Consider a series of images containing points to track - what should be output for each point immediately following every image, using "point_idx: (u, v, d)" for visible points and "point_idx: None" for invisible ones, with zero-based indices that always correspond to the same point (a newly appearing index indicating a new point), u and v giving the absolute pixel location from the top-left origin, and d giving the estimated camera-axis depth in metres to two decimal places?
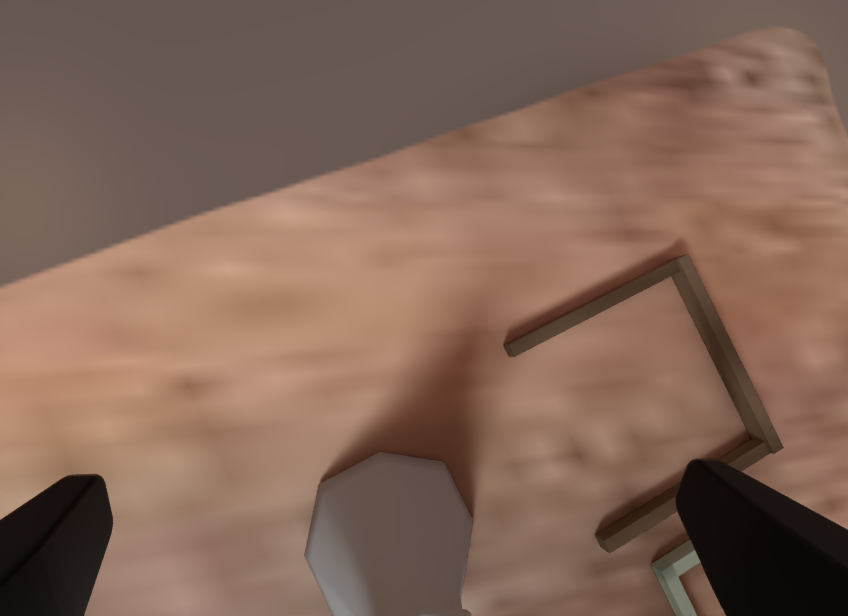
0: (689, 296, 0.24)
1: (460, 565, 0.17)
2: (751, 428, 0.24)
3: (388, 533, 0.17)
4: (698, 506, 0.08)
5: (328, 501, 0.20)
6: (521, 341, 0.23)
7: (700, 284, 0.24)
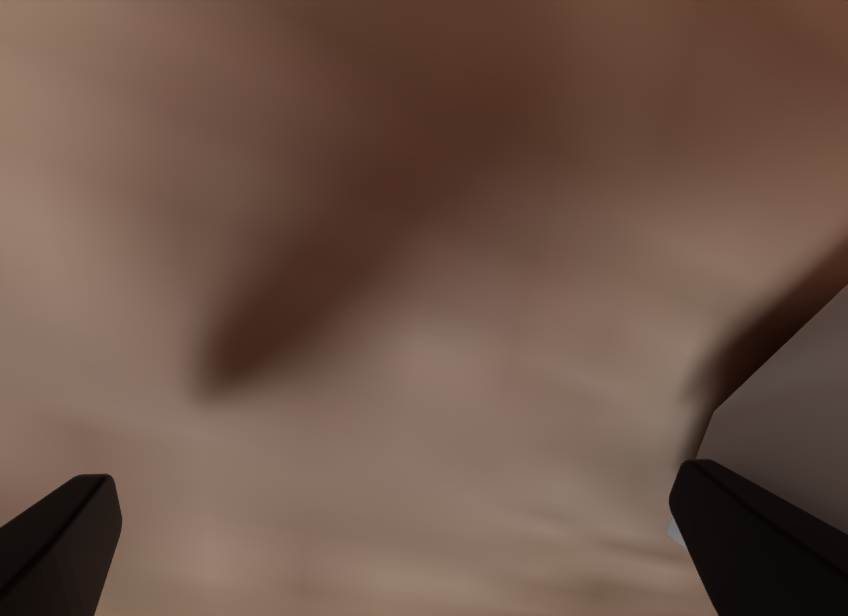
0: None
1: None
2: None
3: None
4: (691, 506, 0.08)
5: None
6: None
7: None
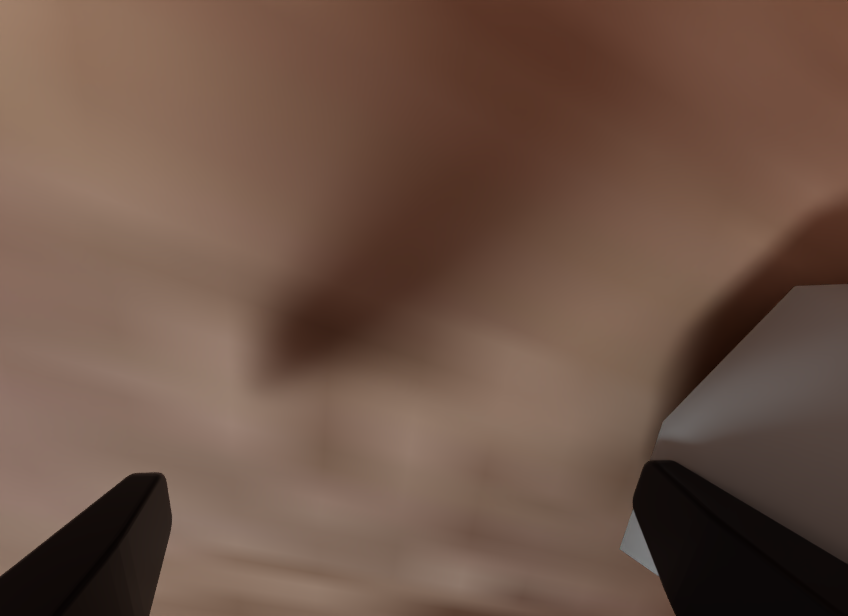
0: None
1: None
2: None
3: None
4: (653, 508, 0.08)
5: None
6: None
7: None
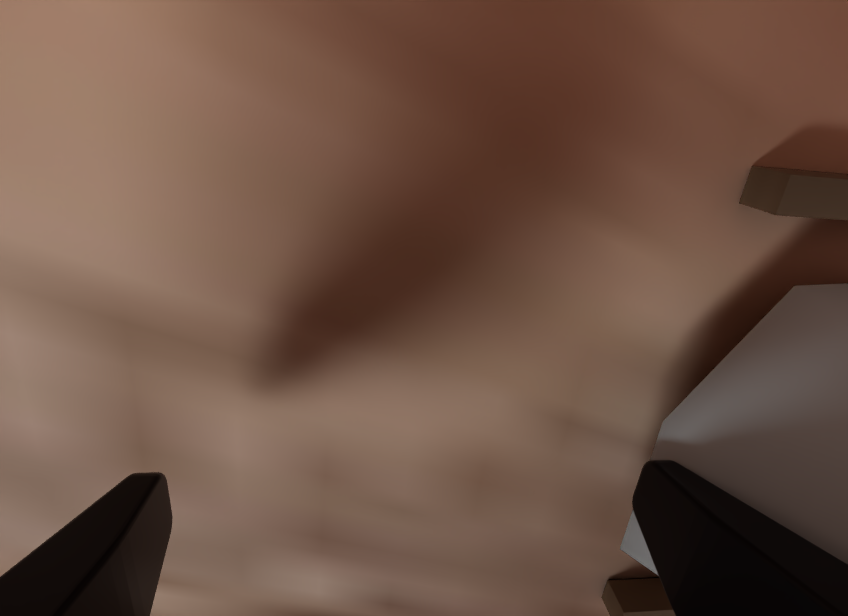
0: None
1: None
2: None
3: None
4: (652, 508, 0.08)
5: None
6: (822, 186, 0.08)
7: None
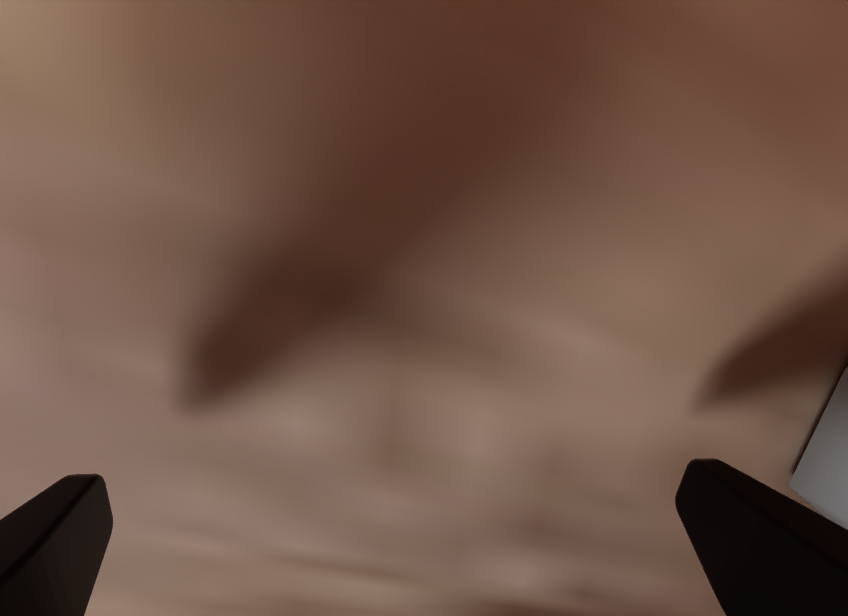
0: None
1: None
2: None
3: None
4: (698, 506, 0.08)
5: None
6: None
7: None
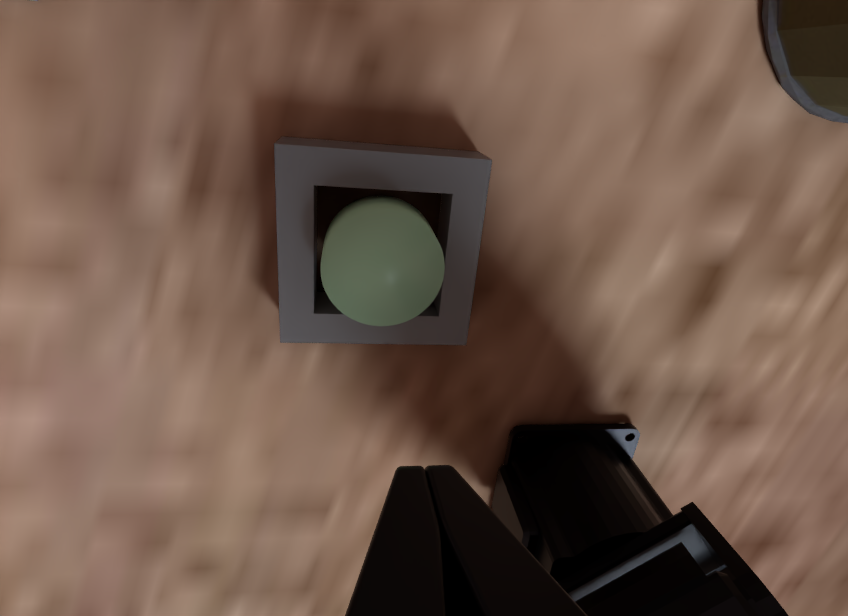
0: None
1: None
2: None
3: None
4: None
5: None
6: None
7: None
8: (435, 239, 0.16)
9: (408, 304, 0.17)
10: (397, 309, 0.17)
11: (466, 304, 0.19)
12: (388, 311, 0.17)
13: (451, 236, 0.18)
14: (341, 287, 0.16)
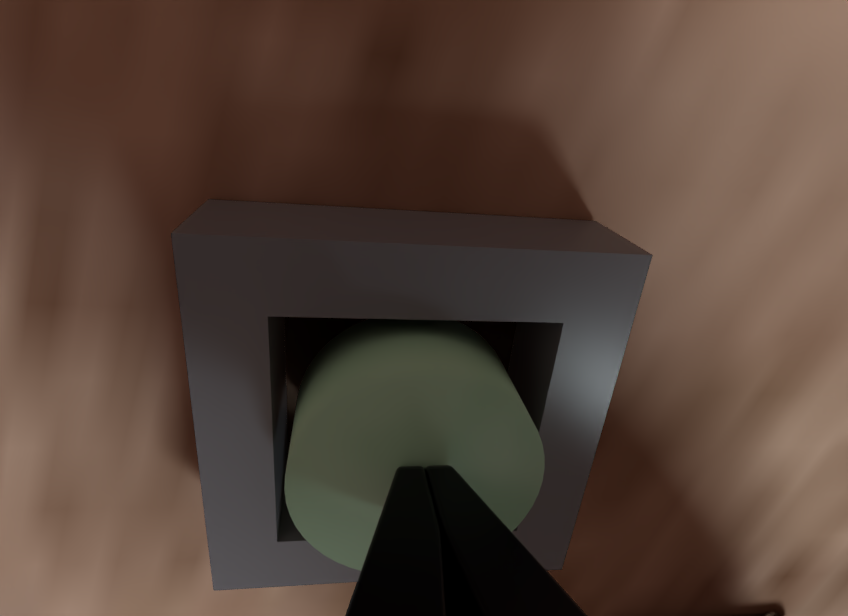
0: None
1: None
2: None
3: None
4: None
5: None
6: None
7: None
8: (530, 424, 0.08)
9: None
10: None
11: (569, 509, 0.10)
12: None
13: (552, 399, 0.09)
14: (330, 519, 0.08)
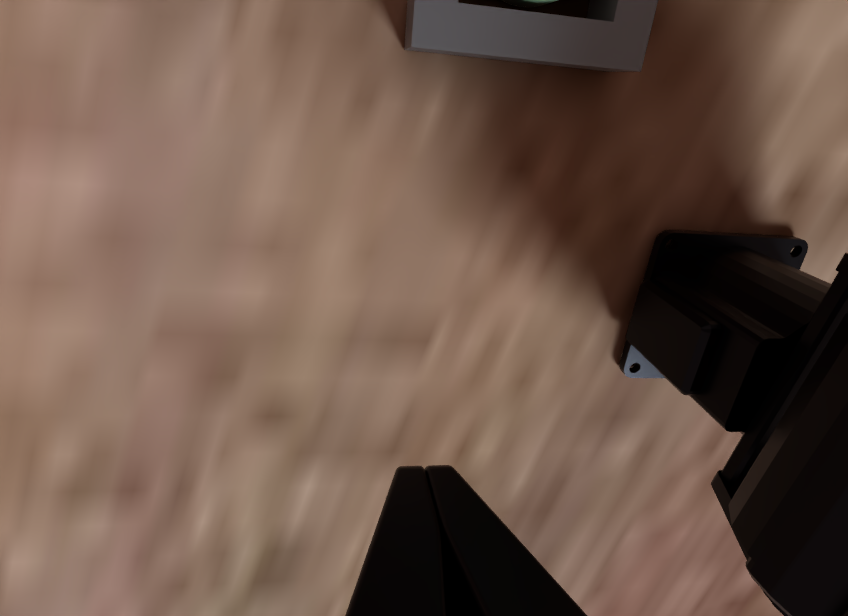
0: None
1: None
2: None
3: None
4: None
5: None
6: None
7: None
8: None
9: None
10: None
11: (650, 4, 0.15)
12: None
13: None
14: None
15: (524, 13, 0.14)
